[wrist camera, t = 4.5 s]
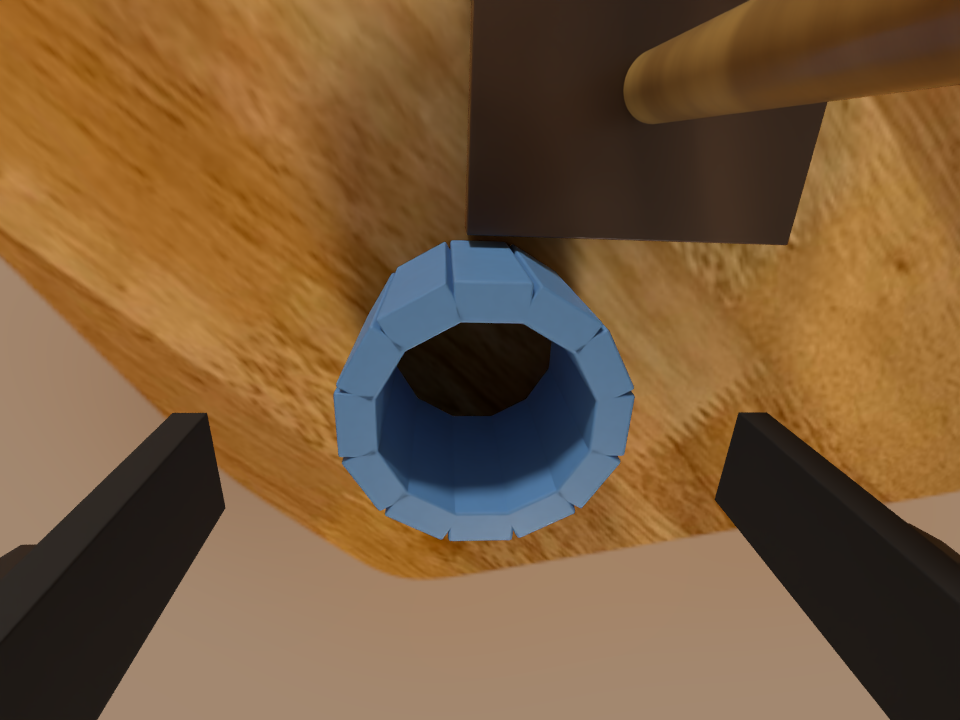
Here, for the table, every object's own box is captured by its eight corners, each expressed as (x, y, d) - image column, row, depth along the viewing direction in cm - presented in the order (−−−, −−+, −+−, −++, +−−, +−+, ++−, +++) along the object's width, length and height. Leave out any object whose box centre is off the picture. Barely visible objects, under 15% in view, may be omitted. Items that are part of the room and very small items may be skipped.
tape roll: (591, 243, 18) (656, 285, 12) (566, 438, 21) (609, 539, 16) (361, 237, 17) (322, 277, 12) (372, 438, 20) (345, 544, 15)
